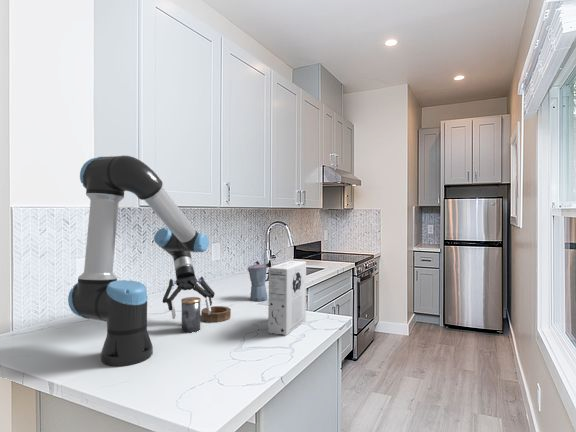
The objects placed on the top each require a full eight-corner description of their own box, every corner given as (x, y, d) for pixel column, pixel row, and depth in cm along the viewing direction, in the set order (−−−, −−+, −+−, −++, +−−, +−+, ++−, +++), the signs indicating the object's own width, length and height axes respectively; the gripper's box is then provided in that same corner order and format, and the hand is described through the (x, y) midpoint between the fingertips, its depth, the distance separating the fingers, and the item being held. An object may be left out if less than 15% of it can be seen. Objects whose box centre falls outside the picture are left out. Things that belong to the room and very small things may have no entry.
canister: (203, 331, 143) (203, 300, 143) (184, 334, 139) (184, 302, 139) (197, 326, 149) (197, 296, 149) (179, 328, 146) (179, 298, 145)
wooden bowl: (234, 319, 158) (234, 311, 158) (207, 323, 152) (207, 315, 152) (224, 312, 168) (224, 304, 168) (198, 316, 162) (198, 308, 162)
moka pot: (241, 300, 191) (242, 261, 191) (263, 295, 202) (263, 258, 202) (254, 303, 185) (254, 263, 184) (276, 298, 196) (276, 260, 195)
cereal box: (289, 317, 161) (290, 260, 161) (306, 320, 158) (306, 261, 158) (267, 333, 141) (268, 267, 141) (286, 336, 138) (286, 269, 138)
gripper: (211, 273, 165) (221, 315, 152) (152, 277, 154) (157, 324, 140) (215, 262, 160) (225, 306, 147) (154, 266, 149) (159, 313, 136)
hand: (192, 315), depth 144 cm, fingers open, 13 cm apart
